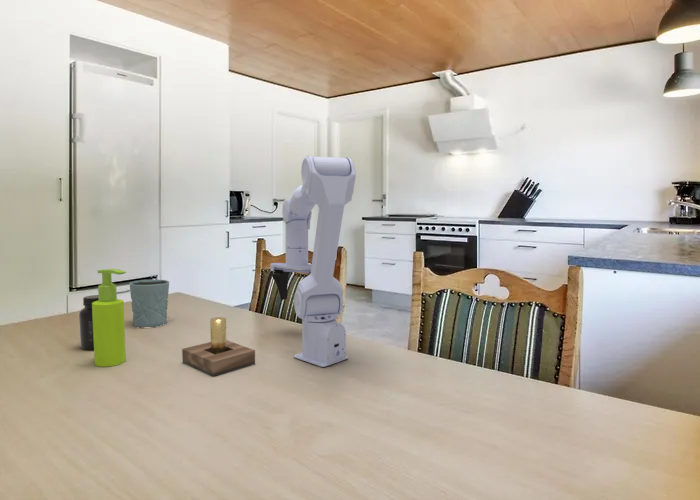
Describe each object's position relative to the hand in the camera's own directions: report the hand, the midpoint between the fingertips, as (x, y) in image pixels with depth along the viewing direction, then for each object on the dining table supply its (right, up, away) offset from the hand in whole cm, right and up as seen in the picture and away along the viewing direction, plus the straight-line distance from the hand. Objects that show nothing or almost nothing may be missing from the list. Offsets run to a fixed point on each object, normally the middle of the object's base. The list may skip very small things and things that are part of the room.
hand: (297, 300), depth 117 cm
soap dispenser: (-37, -11, -20) cm, 43 cm away
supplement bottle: (-46, -10, -9) cm, 48 cm away
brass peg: (-14, -11, -20) cm, 27 cm away
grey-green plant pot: (-43, -8, +12) cm, 45 cm away
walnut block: (-14, -11, -20) cm, 27 cm away
